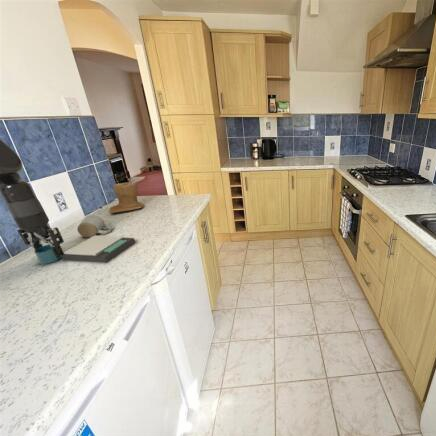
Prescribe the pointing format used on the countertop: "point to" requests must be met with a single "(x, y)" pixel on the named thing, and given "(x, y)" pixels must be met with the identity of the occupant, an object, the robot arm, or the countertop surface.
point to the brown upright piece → (126, 198)
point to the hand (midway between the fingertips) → (51, 254)
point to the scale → (98, 249)
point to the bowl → (46, 255)
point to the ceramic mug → (92, 226)
